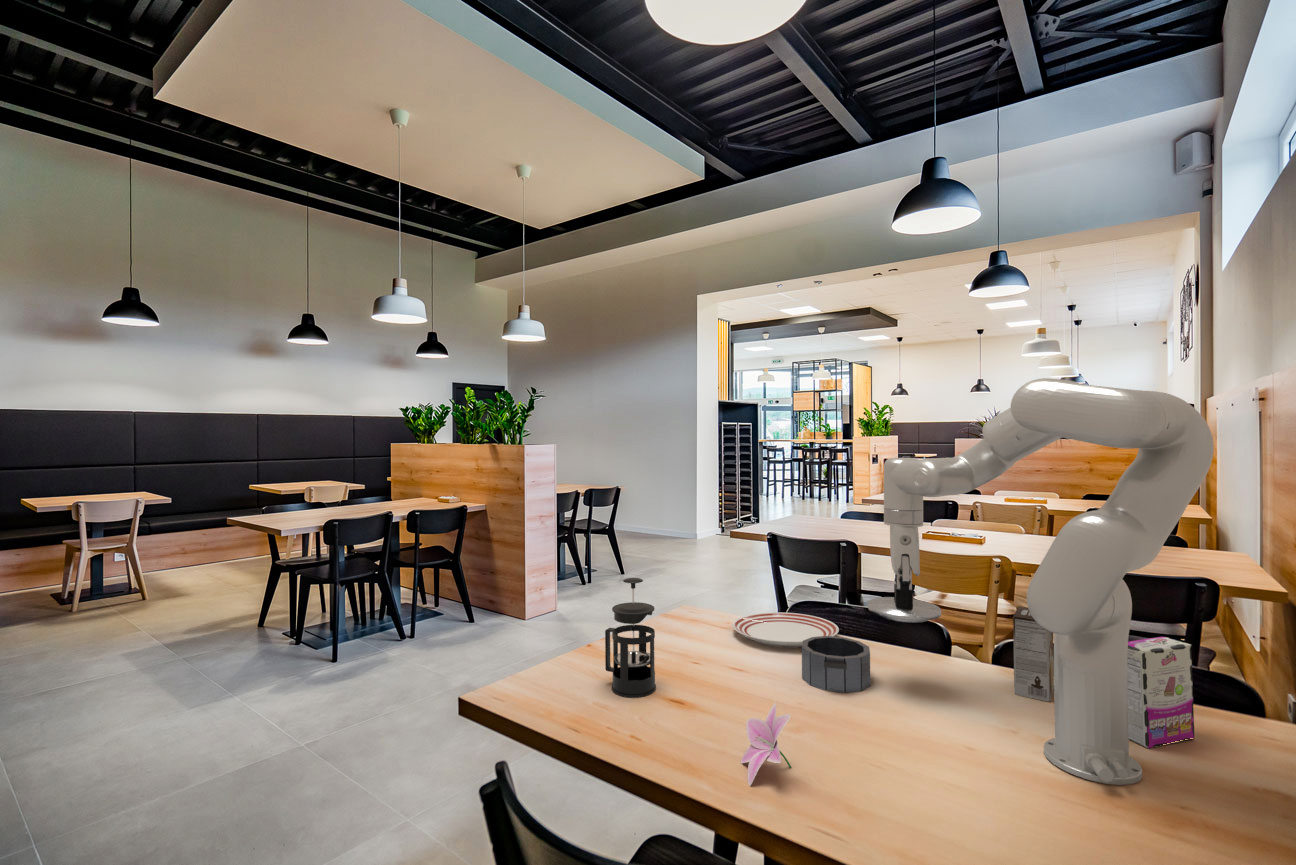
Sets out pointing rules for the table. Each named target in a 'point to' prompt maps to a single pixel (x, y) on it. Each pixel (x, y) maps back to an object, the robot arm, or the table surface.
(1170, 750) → the table surface
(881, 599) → the lid
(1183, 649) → the candy bar box
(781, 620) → the dinner plate
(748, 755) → the lily
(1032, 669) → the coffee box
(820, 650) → the pot
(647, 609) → the french press
